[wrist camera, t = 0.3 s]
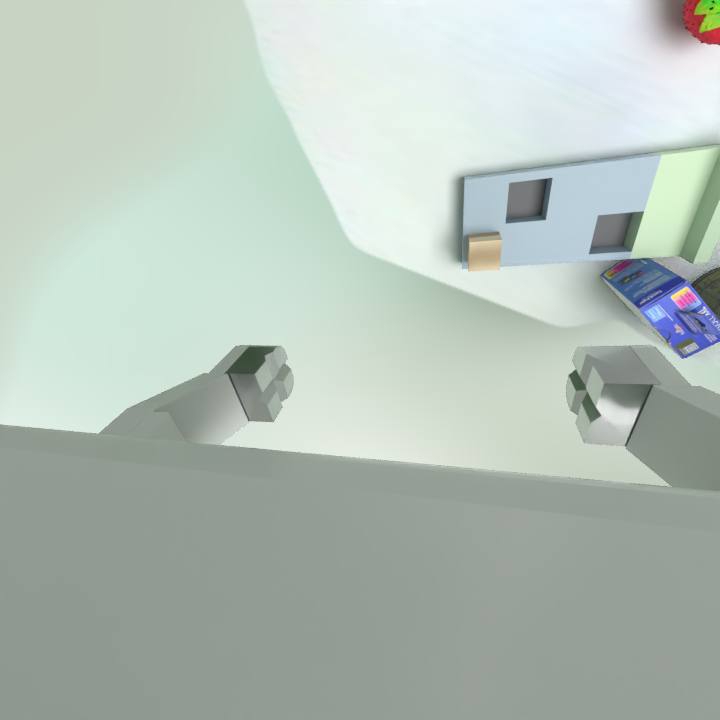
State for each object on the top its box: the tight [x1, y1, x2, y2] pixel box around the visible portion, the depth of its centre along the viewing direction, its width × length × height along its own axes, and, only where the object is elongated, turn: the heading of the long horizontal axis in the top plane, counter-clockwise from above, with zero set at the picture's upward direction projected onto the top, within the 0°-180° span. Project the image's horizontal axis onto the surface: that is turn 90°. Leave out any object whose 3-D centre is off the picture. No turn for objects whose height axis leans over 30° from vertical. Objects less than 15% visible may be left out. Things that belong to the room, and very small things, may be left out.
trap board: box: [462, 144, 720, 269], centre depth 43 cm, size 12×28×6 cm, turn 98°
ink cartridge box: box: [601, 258, 720, 359], centre depth 43 cm, size 10×6×14 cm, turn 52°
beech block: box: [468, 232, 502, 271], centre depth 46 cm, size 4×4×4 cm
